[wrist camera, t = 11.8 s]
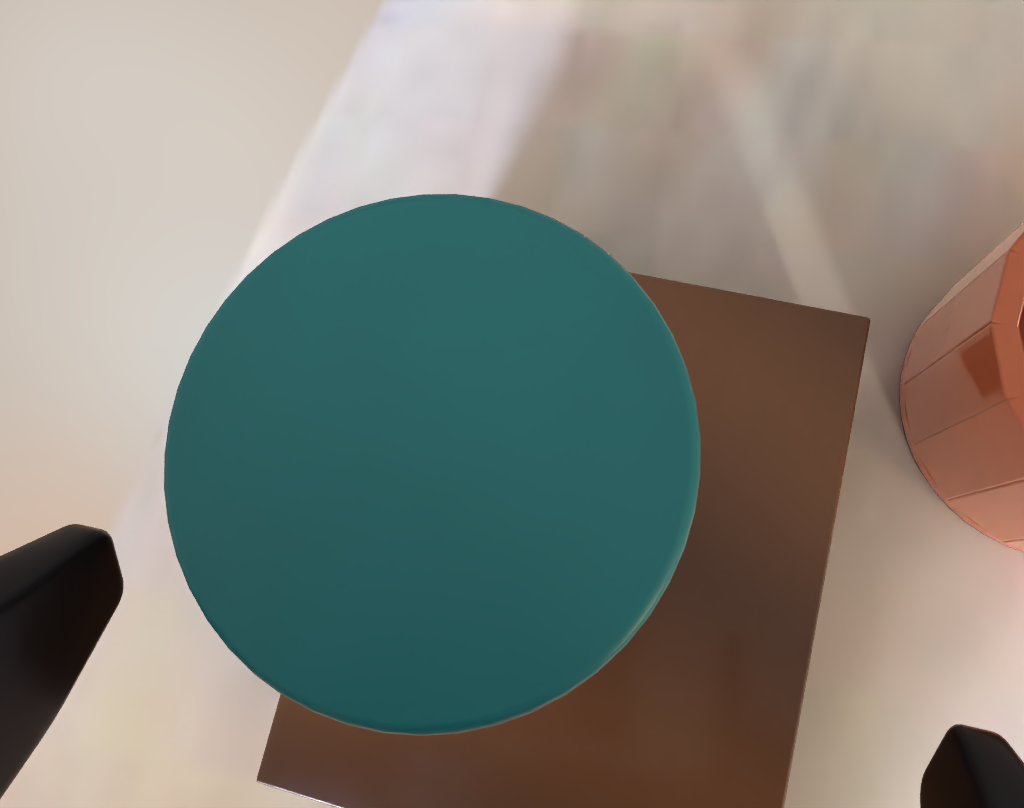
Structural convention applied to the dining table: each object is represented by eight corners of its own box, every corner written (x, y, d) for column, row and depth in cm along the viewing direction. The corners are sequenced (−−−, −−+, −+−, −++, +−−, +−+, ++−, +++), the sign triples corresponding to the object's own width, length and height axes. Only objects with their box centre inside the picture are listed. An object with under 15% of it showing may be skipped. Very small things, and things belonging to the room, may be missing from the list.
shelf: (732, 869, 19) (761, 941, 15) (322, 746, 21) (254, 783, 17) (825, 366, 21) (871, 317, 17) (446, 290, 23) (411, 230, 19)
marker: (569, 657, 17) (416, 871, 4) (462, 551, 17) (56, 458, 5) (672, 547, 17) (823, 429, 4) (563, 445, 18) (422, 92, 5)
